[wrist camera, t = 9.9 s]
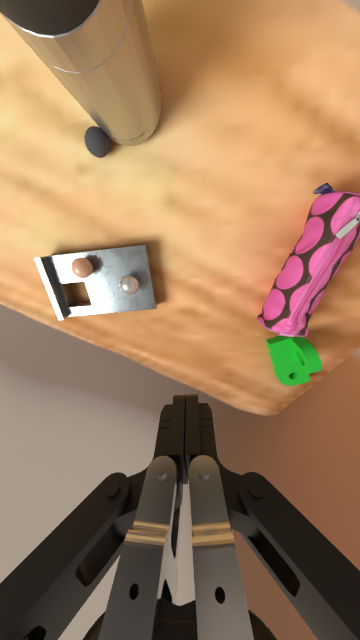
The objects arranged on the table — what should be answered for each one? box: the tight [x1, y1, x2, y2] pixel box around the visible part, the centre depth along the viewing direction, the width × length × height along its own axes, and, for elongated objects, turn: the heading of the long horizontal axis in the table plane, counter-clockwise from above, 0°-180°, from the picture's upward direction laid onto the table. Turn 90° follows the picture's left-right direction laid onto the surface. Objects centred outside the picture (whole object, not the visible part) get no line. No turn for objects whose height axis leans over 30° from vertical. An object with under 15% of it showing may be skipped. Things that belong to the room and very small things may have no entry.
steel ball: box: [120, 275, 139, 295], centre depth 33 cm, size 3×3×3 cm
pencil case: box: [257, 183, 360, 337], centre depth 30 cm, size 21×10×10 cm, turn 166°
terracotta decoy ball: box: [71, 258, 93, 278], centre depth 32 cm, size 3×3×3 cm
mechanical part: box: [266, 336, 322, 386], centre depth 39 cm, size 12×6×8 cm, turn 22°
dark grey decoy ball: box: [85, 126, 110, 158], centre depth 27 cm, size 3×3×3 cm
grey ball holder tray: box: [34, 244, 158, 320], centre depth 35 cm, size 11×18×4 cm, turn 96°
